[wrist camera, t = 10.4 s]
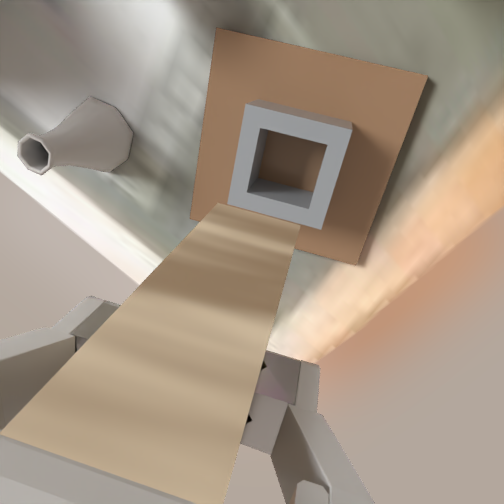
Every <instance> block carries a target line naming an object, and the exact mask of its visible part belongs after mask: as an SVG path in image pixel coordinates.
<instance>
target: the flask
mask: <svg viewBox="0 0 504 504" xmlns="http://www.w3.org/2000/svg"><path fill="white" fill-rule="evenodd" d="M132 137H133V132H132V131H131V129H130V128H129V126H128V125H127V123H126V122H125V120H124V119H123V117H122V116H121V114H120V113H119V111H118V110H117V108H115V107H113V106H111V105H109V104H106V103H104V102H102V101H100V100H97V99H95V98H93V97H89V98H88V99H86V100H85V101H84V102H83V103H82V104H80V105H79V106H78V107H77V108H76V109H75V110H73V111H72V112H71V113H70V114H69V115H68V116H67V117H66V118H65V119H64V120H63V121H62V122H61V124H60V125H58V126H57V127H56V128H54V129H53V130H51V131H49V132H47V133H45V134H41V135H35V134H33V133H27V134H26V135H25V136H24V137H23V138H22V139H20V140H19V141H18V151H17V156H18V158H19V159H20V160H21V161H22V163H23V164H24V165H25V167H26V168H27V169H28V170H31V171H33V172H35V173H37V174H40V175H43V174H44V173H46V172H47V171H48V170H49V169H51V168H52V167H55V166H66V165H71V166H77V167H83V168H89V169H94V170H99V171H103V172H111V171H112V170H113V169H115V168H116V167H118V166H119V165H120V164H122V163H123V162H125V161H126V160H128V156H129V151H130V147H131V142H132Z"/></svg>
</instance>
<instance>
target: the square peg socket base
mask: <svg viewBox="0 0 504 504" xmlns="http://www.w3.org/2000/svg"><path fill="white" fill-rule="evenodd" d="M427 78H428V76H427V75H423V74H418V73H414V72H409V71H405V70H401V69H396V68H392V67H388V66H383V65H379V64H374V63H370V62H366V61H361V60H357V59H352V58H348V57H344V56H339V55H335V54H331V53H326V52H322V51H317V50H313V49H309V48H304V47H300V46H295V45H291V44H287V43H282V42H278V41H273V40H269V39H265V38H260V37H256V36H252V35H247V34H243V33H238V32H234V31H230V30H225V29H221V28H216V33H215V40H214V47H213V54H212V62H211V69H210V76H209V83H208V91H207V98H206V105H205V112H204V119H203V127H202V134H201V141H200V148H199V156H198V163H197V170H196V177H195V184H194V192H193V199H192V206H191V213H190V219H192V220H196V221H199V222H200V221H201V220H202V219H203V218H204V217H205V216H206V215H207V214H208V213H209V212H210V211H211V210H212V209H213V208H214V207H215V206H216V205H217V204H218V203H220V204H224V205H227V206H231V207H235V208H239V209H242V210H246V211H250V212H253V213H257V214H261V215H265V216H268V217H272V218H276V219H279V220H283V221H287V222H291V223H294V224H298V225H301V226H300V229H299V233H298V237H297V240H296V244H295V247H294V248H295V249H299V250H303V251H306V252H310V253H313V254H317V255H320V256H324V257H327V258H331V259H335V260H338V261H342V262H345V263H349V264H352V265H356V264H357V262H358V259H359V256H360V254H361V251H362V249H363V246H364V243H365V241H366V238H367V235H368V233H369V230H370V228H371V225H372V222H373V220H374V217H375V214H376V212H377V209H378V207H379V204H380V201H381V199H382V196H383V193H384V191H385V188H386V186H387V183H388V180H389V178H390V175H391V172H392V170H393V167H394V164H395V162H396V159H397V157H398V154H399V151H400V149H401V146H402V143H403V141H404V138H405V136H406V133H407V130H408V128H409V125H410V122H411V120H412V117H413V115H414V112H415V109H416V107H417V104H418V101H419V99H420V96H421V93H422V91H423V88H424V86H425V83H426V80H427Z"/></svg>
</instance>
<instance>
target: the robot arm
mask: <svg viewBox="0 0 504 504" xmlns="http://www.w3.org/2000/svg"><path fill="white" fill-rule="evenodd" d="M120 306H121V305H119V304H115V303H113V302H110V301H105V300H102V299H100V298H96V297H93V296H89V297H86V298H85V299H84V300H83V301H81V302H80V303H79V304H78V305H77V306H76V307H74V309H72V310H71V311H70V312H69V313H68V314H66V315H65V316H64V317H63V318H62V319H61V320H60V321H58V322H57V323H56V324H55V325H54V326H53V327H52V328H48V327H43V328H39V329H36V330H33V331H29V332H26V333H22V334H19V335H15V336H12V337H8V338H5V339H1V340H0V432H1V431H2V430H3V429H4V428H5V427H6V426H7V425H8V424H9V422H10V421H11V420H12V419H13V418H14V417H15V416H16V415H17V414H18V413H19V412H20V411H21V410H22V409H23V408H24V407H25V406H26V405H27V404H28V402H29V401H30V400H31V399H32V398H33V397H34V396H35V395H36V394H37V393H38V392H39V391H40V390H41V389H42V388H43V387H44V386H45V385H46V384H47V382H48V381H49V380H50V379H51V378H52V377H53V376H54V375H55V374H56V373H57V372H58V371H59V370H60V369H61V368H62V367H63V366H64V365H65V364H66V362H67V361H68V360H69V359H70V358H71V357H72V356H73V355H74V354H75V353H76V352H77V351H78V350H79V349H80V348H81V347H82V346H83V345H84V344H85V342H86V341H87V340H88V339H89V338H90V337H91V336H92V335H93V334H94V333H95V332H96V331H97V330H98V329H99V328H100V327H101V326H102V325H103V324H104V322H105V321H106V320H107V319H108V318H109V317H110V316H111V315H112V314H113V313H114V312H115V311H116V310H117V309H118V308H119V307H120ZM319 378H320V366H319V365H316V364H313V363H309V362H306V361H302V360H301V361H300V360H297V359H294V358H291V357H287V356H284V355H281V354H277V353H274V352H271V351H267V350H266V352H265V355H264V359H263V363H262V366H261V370H260V373H259V377H258V381H257V384H256V388H255V391H254V395H253V399H252V402H251V406H250V409H249V413H248V417H247V420H246V424H245V427H244V431H243V435H242V438H241V442H240V444H243V445H246V446H249V447H251V448H254V449H257V450H259V451H263V452H265V453H268V454H270V455H271V459H272V462H273V465H274V468H275V471H276V474H277V477H278V481H279V483H280V487H281V489H282V493H283V496H284V499H285V502H286V504H375V502H374V501H373V499H372V497H371V496H370V494H369V492H368V491H367V489H366V487H365V485H364V484H363V482H362V481H361V479H360V477H359V475H358V474H357V472H356V470H355V469H354V467H353V465H352V464H351V462H350V460H349V459H348V457H347V455H346V453H345V452H344V450H343V448H342V447H341V445H340V443H339V442H338V440H337V438H336V437H335V435H334V433H333V432H332V430H331V428H330V427H329V425H328V423H327V421H326V420H325V418H324V416H323V415H321V414H319V413H317V404H318V392H319ZM0 504H196V503H193V502H191V501H188V500H185V499H182V498H179V497H176V496H174V495H171V494H168V493H165V492H162V491H159V490H157V489H154V488H151V487H148V486H145V485H142V484H140V483H137V482H134V481H131V480H128V479H125V478H123V477H120V476H117V475H114V474H111V473H108V472H105V471H103V470H100V469H97V468H94V467H91V466H88V465H86V464H83V463H80V462H77V461H74V460H71V459H68V458H66V457H63V456H60V455H57V454H54V453H51V452H49V451H46V450H43V449H40V448H37V447H34V446H32V445H29V444H26V443H23V442H20V441H17V440H14V439H12V438H9V437H6V436H3V435H0Z"/></svg>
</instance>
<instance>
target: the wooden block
mask: <svg viewBox="0 0 504 504" xmlns="http://www.w3.org/2000/svg"><path fill="white" fill-rule="evenodd" d="M300 226H301V225H298V224H294V223H291V222H287V221H283V220H279V219H276V218H272V217H268V216H265V215H261V214H257V213H253V212H250V211H246V210H242V209H239V208H235V207H231V206H227V205H224V204H220V203H218V204H217V205H216V206H215V207H214V208H213V209H212V210H211V211H210V212H209V213H208V214H207V215H206V216H205V217H204V218H203V219H202V220H201V221H200V223H199V224H198V225H197V226H196V227H195V228H194V229H193V230H192V231H191V232H190V233H189V234H188V235H187V236H186V237H185V238H184V239H183V240H182V241H181V243H180V244H179V245H178V246H177V247H176V248H175V249H174V250H173V251H172V252H171V253H170V254H169V255H168V256H167V257H166V258H165V259H164V260H163V261H162V263H161V264H160V265H159V266H158V267H157V268H156V269H155V270H154V271H153V272H152V273H151V274H150V275H149V276H148V277H147V278H146V279H145V280H144V281H143V282H142V284H141V285H140V286H139V287H138V288H137V289H136V290H135V291H134V292H133V293H132V294H131V295H130V296H129V297H128V298H127V299H126V300H125V301H124V303H123V304H122V305H121V306H120V307H119V308H118V309H117V310H116V311H115V312H114V313H113V314H112V315H111V316H110V317H109V318H108V319H107V320H106V321H105V322H104V324H103V325H102V326H101V327H100V328H99V329H98V330H97V331H96V332H95V333H94V334H93V335H92V336H91V337H90V338H89V339H88V340H87V341H86V342H85V344H84V345H83V346H82V347H81V348H80V349H79V350H78V351H77V352H76V353H75V354H74V355H73V356H72V357H71V358H70V359H69V360H68V361H67V362H66V364H65V365H64V366H63V367H62V368H61V369H60V370H59V371H58V372H57V373H56V374H55V375H54V376H53V377H52V378H51V379H50V380H49V381H48V382H47V384H46V385H45V386H44V387H43V388H42V389H41V390H40V391H39V392H38V393H37V394H36V395H35V396H34V397H33V398H32V399H31V400H30V401H29V402H28V404H27V405H26V406H25V407H24V408H23V409H22V410H21V411H20V412H19V413H18V414H17V415H16V416H15V417H14V418H13V419H12V420H11V421H10V422H9V424H8V425H7V426H6V427H5V428H4V429H3V430H2V431H1V432H0V435H3V436H6V437H9V438H12V439H14V440H17V441H20V442H23V443H26V444H29V445H32V446H34V447H37V448H40V449H43V450H46V451H49V452H51V453H54V454H57V455H60V456H63V457H66V458H68V459H71V460H74V461H77V462H80V463H83V464H86V465H88V466H91V467H94V468H97V469H100V470H103V471H105V472H108V473H111V474H114V475H117V476H120V477H123V478H125V479H128V480H131V481H134V482H137V483H140V484H142V485H145V486H148V487H151V488H154V489H157V490H159V491H162V492H165V493H168V494H171V495H174V496H176V497H179V498H182V499H185V500H188V501H191V502H193V503H196V504H223V503H224V500H225V496H226V492H227V489H228V485H229V481H230V478H231V474H232V470H233V467H234V464H235V460H236V456H237V452H238V449H239V445H240V442H241V438H242V435H243V431H244V427H245V424H246V420H247V417H248V413H249V409H250V406H251V402H252V399H253V395H254V391H255V388H256V384H257V381H258V377H259V373H260V370H261V366H262V363H263V359H264V355H265V352H266V348H267V345H268V341H269V337H270V334H271V330H272V327H273V323H274V319H275V316H276V312H277V309H278V305H279V301H280V298H281V294H282V291H283V287H284V283H285V280H286V276H287V273H288V269H289V265H290V262H291V258H292V255H293V251H294V247H295V244H296V240H297V237H298V233H299V229H300Z"/></svg>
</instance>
